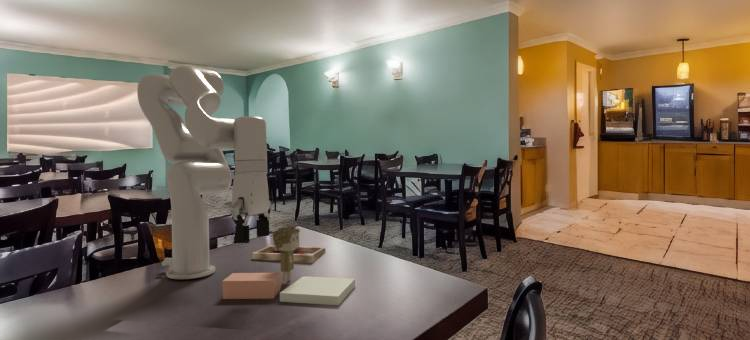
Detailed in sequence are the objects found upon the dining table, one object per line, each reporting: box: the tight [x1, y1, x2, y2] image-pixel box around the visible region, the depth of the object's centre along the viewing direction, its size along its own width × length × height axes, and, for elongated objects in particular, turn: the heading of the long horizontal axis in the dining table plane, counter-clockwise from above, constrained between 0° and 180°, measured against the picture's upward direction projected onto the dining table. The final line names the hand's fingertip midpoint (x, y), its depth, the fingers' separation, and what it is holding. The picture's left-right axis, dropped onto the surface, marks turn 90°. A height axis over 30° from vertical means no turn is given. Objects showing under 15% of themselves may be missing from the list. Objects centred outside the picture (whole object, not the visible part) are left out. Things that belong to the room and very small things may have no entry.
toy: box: [272, 225, 301, 285], centre depth 110 cm, size 7×7×15 cm
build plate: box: [279, 275, 356, 306], centre depth 99 cm, size 14×14×2 cm
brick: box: [221, 272, 282, 300], centre depth 100 cm, size 12×7×4 cm, turn 90°
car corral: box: [252, 245, 327, 264], centre depth 133 cm, size 20×12×4 cm, turn 78°
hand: (253, 239), depth 99 cm, fingers open, 9 cm apart
